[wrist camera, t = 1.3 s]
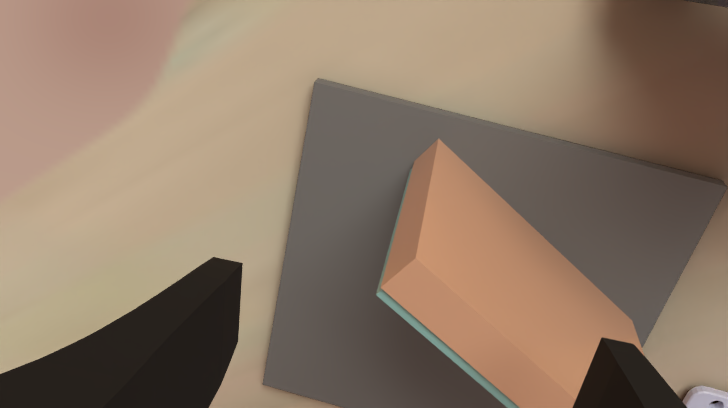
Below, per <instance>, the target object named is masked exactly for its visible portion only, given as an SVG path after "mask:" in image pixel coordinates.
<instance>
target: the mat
mask: <svg viewBox="0 0 728 408" xmlns="http://www.w3.org/2000/svg"><path fill="white" fill-rule="evenodd" d="M438 138H439V139H440V140H441V141H442V142H443V143H444V144H445V145H446V146H447V147H448V148H449V149H450V150H451V151H453V152H454V153H455V154H456V155H457V156H458V157H459V158H460V159H461V160H462V161H463V162H464V163H465V164H466V165H467V166H468V167H470V168H471V169H472V170H473V171H474V172H475V173H476V174H477V175H478V176H479V177H480V178H481V179H482V180H483V181H484V182H486V183H487V184H488V185H489V186H490V187H491V188H492V189H493V190H494V191H495V192H496V193H497V194H498V195H499V196H500V197H501V198H503V199H504V200H505V201H506V202H507V203H508V204H509V205H510V206H511V207H512V208H513V209H514V210H515V211H516V212H517V213H518V214H520V215H521V216H522V217H523V218H524V219H525V220H526V221H527V222H528V223H529V224H530V225H531V226H532V227H533V228H534V229H535V230H537V231H538V232H539V233H540V234H541V235H542V236H543V237H544V238H545V239H546V240H547V241H548V242H549V243H550V244H551V245H552V246H554V247H555V248H556V249H557V250H558V251H559V252H560V253H561V254H562V255H563V256H564V257H565V258H566V259H567V260H568V261H569V262H571V263H572V264H573V265H574V266H575V267H576V268H577V269H578V270H579V271H580V272H581V273H582V274H583V275H584V276H585V277H586V278H588V279H589V280H590V281H591V282H592V283H593V284H594V285H595V286H596V287H597V288H598V289H599V290H600V291H601V292H602V293H603V294H605V295H606V296H607V297H608V298H609V299H610V300H611V301H612V302H613V303H614V304H615V305H616V306H617V307H618V308H619V309H620V310H622V311H623V312H624V313H625V314H626V315H627V316H628V317H629V318H630V319H631V320H632V321H633V324H634V327H635V330H636V333H637V336H638V339H639V342H640V344H641V347H643V345H644V343H645V341H646V340H647V338H648V336H649V334H650V332H651V330H652V328H653V326H654V325H655V323H656V321H657V319H658V317H659V315H660V313H661V311H662V310H663V308H664V306H665V304H666V302H667V300H668V298H669V296H670V295H671V293H672V291H673V289H674V287H675V285H676V283H677V281H678V280H679V278H680V276H681V274H682V272H683V270H684V268H685V266H686V264H687V263H688V261H689V259H690V257H691V255H692V253H693V251H694V249H695V248H696V246H697V244H698V242H699V240H700V238H701V236H702V234H703V233H704V231H705V229H706V227H707V225H708V223H709V221H710V219H711V218H712V216H713V214H714V212H715V210H716V208H717V206H718V204H719V203H720V201H721V199H722V197H723V195H724V193H725V191H726V189H727V185H726V184H725V183H724V182H723V181H721V180H717V179H713V178H709V177H705V176H702V175H698V174H694V173H690V172H686V171H682V170H678V169H674V168H670V167H666V166H662V165H658V164H654V163H650V162H646V161H642V160H638V159H635V158H631V157H627V156H623V155H619V154H615V153H611V152H607V151H603V150H599V149H595V148H591V147H587V146H583V145H579V144H575V143H571V142H568V141H564V140H560V139H556V138H552V137H548V136H544V135H540V134H536V133H532V132H528V131H524V130H520V129H516V128H512V127H508V126H504V125H500V124H497V123H493V122H489V121H485V120H481V119H477V118H473V117H469V116H465V115H461V114H457V113H453V112H449V111H445V110H441V109H437V108H433V107H430V106H426V105H422V104H418V103H414V102H410V101H406V100H402V99H398V98H394V97H390V96H386V95H382V94H378V93H374V92H370V91H366V90H363V89H359V88H355V87H351V86H347V85H343V84H339V83H335V82H331V81H327V80H323V79H319V78H318V79H317V80H316V81H315V83H314V88H313V94H312V100H311V106H310V112H309V117H308V123H307V129H306V135H305V141H304V147H303V152H302V158H301V164H300V170H299V176H298V181H297V187H296V193H295V199H294V205H293V211H292V216H291V222H290V228H289V234H288V240H287V245H286V251H285V257H284V263H283V269H282V275H281V280H280V286H279V292H278V298H277V304H276V309H275V315H274V321H273V327H272V333H271V339H270V344H269V350H268V356H267V362H266V368H265V373H264V379H263V385H266V386H270V387H273V388H277V389H280V390H284V391H287V392H291V393H294V394H298V395H301V396H305V397H308V398H312V399H315V400H319V401H322V402H326V403H329V404H333V405H336V406H340V407H343V408H507V407H506V406H505V405H504V404H502V403H501V402H500V401H499V400H498V399H497V398H495V397H494V396H493V395H492V394H491V393H490V392H488V391H487V390H486V389H485V388H484V387H483V386H481V385H480V384H479V383H478V382H477V381H476V380H474V379H473V378H472V377H471V376H470V375H469V374H467V373H466V372H465V371H464V370H463V369H462V368H460V367H459V366H458V365H457V364H456V363H455V362H453V361H452V360H451V359H450V358H449V357H448V356H446V355H445V354H444V353H443V352H442V351H441V350H439V349H438V348H437V347H436V346H435V345H434V344H432V343H431V342H430V341H429V340H428V339H427V338H425V337H424V336H423V335H422V334H421V333H420V332H418V331H417V330H416V329H415V328H414V327H413V326H411V325H410V324H409V323H408V322H407V321H406V320H404V319H403V318H402V317H401V316H400V315H399V314H397V313H396V312H395V311H394V310H393V309H392V308H390V307H389V306H388V305H387V304H386V303H385V302H383V301H382V300H381V299H380V298H379V297H378V296H376V293H377V289H378V285H379V282H380V278H381V275H382V271H383V267H384V264H385V260H386V256H387V253H388V249H389V245H390V242H391V238H392V234H393V231H394V227H395V223H396V220H397V216H398V212H399V209H400V205H401V201H402V198H403V194H404V190H405V187H406V183H407V179H408V176H409V172H410V169H412V168H413V164H414V161H415V160H416V159H417V158H418V157H419V156H420V155H421V154H423V153H424V152H425V151H426V150H427V149H428V148H429V147H430V146H431V145H432V144H433V143H434V142H435V141H436V140H437V139H438Z"/></svg>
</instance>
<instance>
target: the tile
mask: <svg viewBox="0 0 728 408" xmlns="http://www.w3.org/2000/svg"><path fill="white" fill-rule="evenodd" d="M376 296H378V297H379V298H380V299H381V300H382V301H383V302H385V303H386V304H387V305H388V306H389V307H390V308H392V309H393V310H394V311H395V312H396V313H397V314H399V315H400V316H401V317H402V318H403V319H404V320H406V321H407V322H408V323H409V324H410V325H411V326H413V327H414V328H415V329H416V330H417V331H418V332H420V333H421V334H422V335H423V336H424V337H425V338H427V339H428V340H429V341H430V342H431V343H432V344H434V345H435V346H436V347H437V348H438V349H439V350H441V351H442V352H443V353H444V354H445V355H446V356H448V357H449V358H450V359H451V360H452V361H453V362H455V363H456V364H457V365H458V366H459V367H460V368H462V369H463V370H464V371H465V372H466V373H467V374H469V375H470V376H471V377H472V378H473V379H474V380H476V381H477V382H478V383H479V384H480V385H481V386H483V387H484V388H485V389H486V390H487V391H488V392H490V393H491V394H492V395H493V396H494V397H495V398H497V399H498V400H499V401H500V402H501V403H502V404H504V405H505V406H506V407H507V408H573V405H574V403H575V400H576V398H577V396H578V393H579V391H580V388H581V386H582V383H583V381H584V379H585V376H586V374H587V371H588V369H589V367H590V364H591V362H592V359H593V357H594V354H595V352H596V350H597V347H598V345H599V342H600V340H601V338H602V337H603V338H608V339H613V340H618V341H622V342H627V343H632V344H634V345H635V346H636V347H637V348H638V349H639V350H640V352H641V353H642V354H643V355H644V353H643V350H642V347H641V344H640V342H639V339H638V336H637V333H636V330H635V327H634V324H633V321H632V320H631V319H630V318H629V317H628V316H627V315H626V314H625V313H624V312H623V311H622V310H620V309H619V308H618V307H617V306H616V305H615V304H614V303H613V302H612V301H611V300H610V299H609V298H608V297H607V296H606V295H605V294H603V293H602V292H601V291H600V290H599V289H598V288H597V287H596V286H595V285H594V284H593V283H592V282H591V281H590V280H589V279H588V278H586V277H585V276H584V275H583V274H582V273H581V272H580V271H579V270H578V269H577V268H576V267H575V266H574V265H573V264H572V263H571V262H569V261H568V260H567V259H566V258H565V257H564V256H563V255H562V254H561V253H560V252H559V251H558V250H557V249H556V248H555V247H554V246H552V245H551V244H550V243H549V242H548V241H547V240H546V239H545V238H544V237H543V236H542V235H541V234H540V233H539V232H538V231H537V230H535V229H534V228H533V227H532V226H531V225H530V224H529V223H528V222H527V221H526V220H525V219H524V218H523V217H522V216H521V215H520V214H518V213H517V212H516V211H515V210H514V209H513V208H512V207H511V206H510V205H509V204H508V203H507V202H506V201H505V200H504V199H503V198H501V197H500V196H499V195H498V194H497V193H496V192H495V191H494V190H493V189H492V188H491V187H490V186H489V185H488V184H487V183H486V182H484V181H483V180H482V179H481V178H480V177H479V176H478V175H477V174H476V173H475V172H474V171H473V170H472V169H471V168H470V167H468V166H467V165H466V164H465V163H464V162H463V161H462V160H461V159H460V158H459V157H458V156H457V155H456V154H455V153H454V152H453V151H451V150H450V149H449V148H448V147H447V146H446V145H445V144H444V143H443V142H442V141H441V140H440V139H439V138H438V139H437V140H436V141H435V142H434V143H433V144H432V145H431V146H430V147H429V148H428V149H427V150H426V151H425V152H424V153H423V154H421V155H420V156H419V157H418V158H417V159H416V160H415V161H414V164H413V168H412V169H410V172H409V176H408V179H407V183H406V187H405V190H404V194H403V198H402V201H401V205H400V209H399V212H398V216H397V220H396V223H395V227H394V231H393V234H392V238H391V242H390V245H389V249H388V253H387V256H386V260H385V264H384V267H383V271H382V275H381V278H380V282H379V285H378V289H377V293H376Z"/></svg>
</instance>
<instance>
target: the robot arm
mask: <svg viewBox="0 0 728 408" xmlns="http://www.w3.org/2000/svg"><path fill="white" fill-rule="evenodd" d="M241 279H242V263H239V262H234V261H230V260H225V259H220V258H215V257H213V258H211V259H210V260H208V261H207V262H205V263H204V264H202V265H201V266H199V267H198V268H196V269H195V270H193V271H192V272H190V273H189V274H187V275H186V276H184V277H183V278H182V279H180V280H179V281H177V282H176V283H174V284H173V285H171V286H170V287H168V288H167V289H165V290H164V291H162V292H161V293H159V294H158V295H156V296H154V297H153V298H151V299H150V300H148V301H147V302H145V303H144V304H142V305H141V306H139V307H137V308H136V309H134V310H133V311H131V312H129V313H127V314H126V315H124V316H122V317H121V318H119V319H117V320H115V321H114V322H112V323H110V324H109V325H107V326H105V327H103V328H102V329H100V330H98V331H96V332H94V333H92V334H91V335H89V336H87V337H85V338H83V339H81V340H79V341H77V342H75V343H73V344H71V345H68V346H66V347H64V348H62V349H60V350H58V351H56V352H54V353H51V354H49V355H47V356H45V357H42V358H40V359H38V360H35V361H33V362H30V363H28V364H25V365H23V366H20V367H18V368H15V369H12V370H10V371H7V372H5V373H2V374H0V408H209V406H210V404H211V402H212V400H213V398H214V397H215V395H216V393H217V391H218V389H219V387H220V385H221V383H222V381H223V378H224V376H225V373H226V371H227V368H228V366H229V363H230V361H231V358H232V355H233V353H234V350H235V348H236V345H237V342H238V331H239V314H240V296H241ZM713 401H719V402H718V403H715V404H710V403H711V402H713ZM573 408H728V392H725V391H721V390H717V389H714V388H710V387H706V386H697V387H694V388H692V389H691V390H690V391H689V392H688V393H687V395H686V396H685V398H684V400H683V401H681V399H680V398H679V397H678V396H677V395H676V393H675V392H674V391H673V390H672V389H671V387H670V386H669V385H668V384H667V383H666V381H665V380H664V379H663V378H662V377H661V375H660V374H659V373H658V372H657V371H656V369H655V368H654V367H653V366H652V365H651V363H650V362H649V361H648V360H647V359H646V357H645V356H644V355H643V354H642V353H641V352H640V350H639V349H638V348H637V347H636V346H635V345H634V344H632V343H627V342H622V341H618V340H613V339H608V338H603V337H602V338H601V340H600V342H599V345H598V347H597V350H596V352H595V354H594V357H593V359H592V362H591V364H590V367H589V369H588V371H587V374H586V376H585V379H584V381H583V383H582V386H581V388H580V391H579V393H578V396H577V398H576V400H575V403H574V405H573Z"/></svg>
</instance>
